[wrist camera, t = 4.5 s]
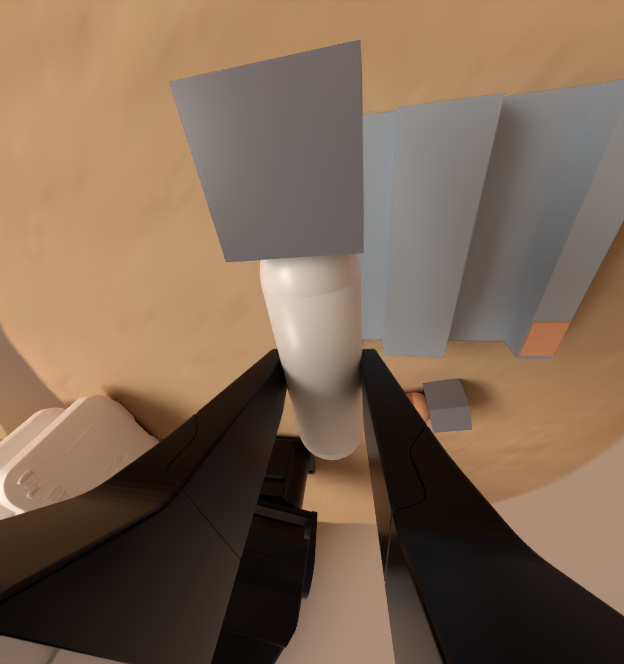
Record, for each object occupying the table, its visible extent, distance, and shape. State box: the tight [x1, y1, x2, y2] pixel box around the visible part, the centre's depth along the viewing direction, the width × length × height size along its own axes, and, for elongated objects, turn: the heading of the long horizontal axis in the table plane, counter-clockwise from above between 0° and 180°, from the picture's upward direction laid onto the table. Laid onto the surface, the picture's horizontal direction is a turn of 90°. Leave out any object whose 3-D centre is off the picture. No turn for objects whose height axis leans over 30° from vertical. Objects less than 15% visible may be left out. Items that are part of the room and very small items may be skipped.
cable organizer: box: [0, 395, 159, 520], centre depth 30 cm, size 15×11×12 cm
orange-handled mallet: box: [406, 379, 472, 433], centre depth 23 cm, size 12×3×3 cm, turn 110°
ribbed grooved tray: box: [357, 78, 624, 359], centre depth 15 cm, size 13×16×3 cm
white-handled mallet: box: [169, 40, 364, 460], centre depth 8 cm, size 12×3×3 cm, turn 7°
